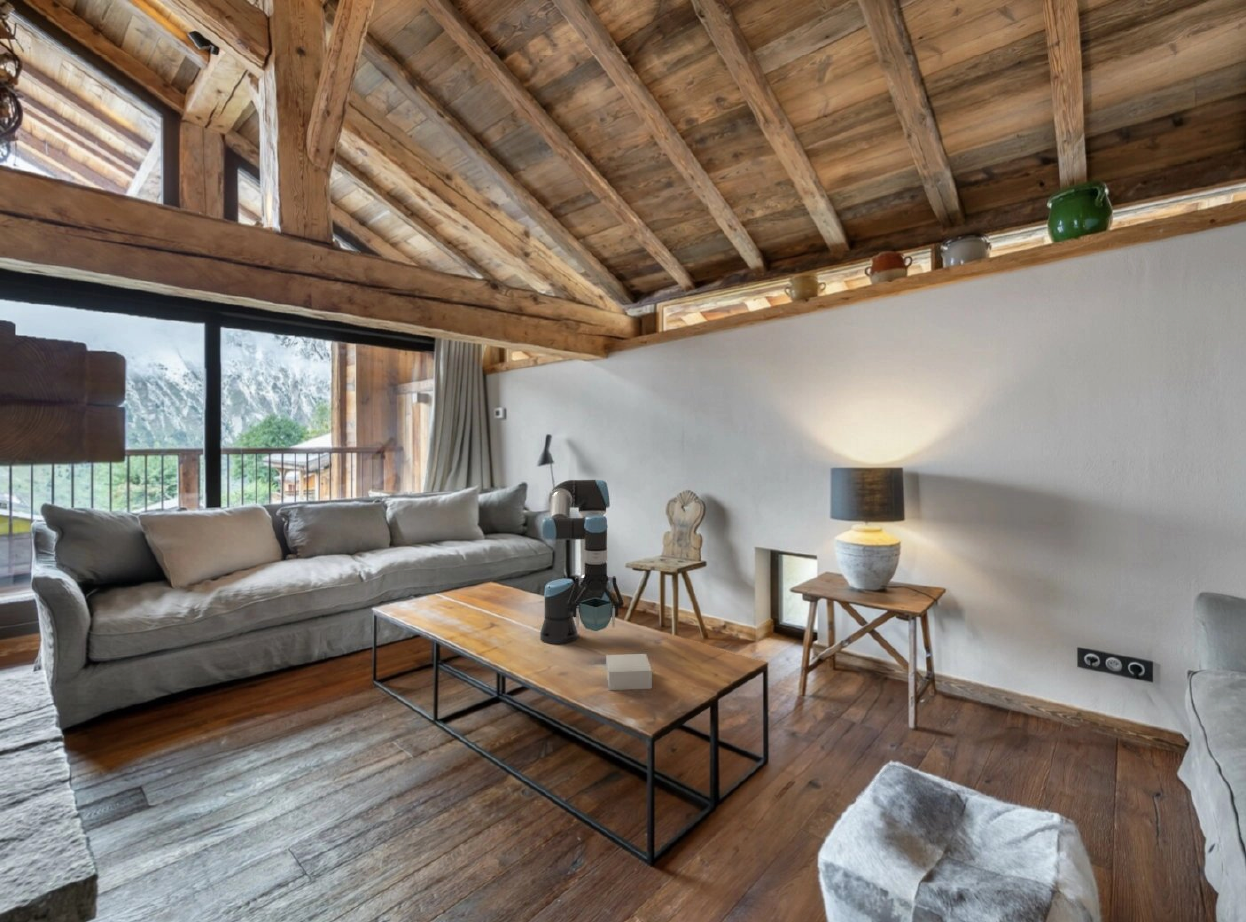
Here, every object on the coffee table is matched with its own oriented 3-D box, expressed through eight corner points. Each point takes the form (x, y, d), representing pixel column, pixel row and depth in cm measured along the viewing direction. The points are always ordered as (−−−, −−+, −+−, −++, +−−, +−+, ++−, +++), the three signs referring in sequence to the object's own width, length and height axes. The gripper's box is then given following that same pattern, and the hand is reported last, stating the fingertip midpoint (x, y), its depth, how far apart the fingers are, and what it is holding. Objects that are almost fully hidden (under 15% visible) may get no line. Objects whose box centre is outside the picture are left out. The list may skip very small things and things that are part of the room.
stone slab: (606, 672, 194) (606, 655, 194) (645, 670, 195) (645, 653, 195) (609, 690, 180) (609, 672, 180) (651, 688, 181) (651, 670, 181)
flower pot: (595, 622, 193) (595, 597, 193) (614, 628, 187) (614, 602, 187) (577, 628, 186) (577, 602, 186) (595, 635, 181) (596, 607, 180)
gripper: (559, 564, 181) (559, 630, 182) (631, 564, 183) (631, 629, 184) (560, 559, 189) (560, 623, 190) (630, 559, 190) (629, 622, 191)
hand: (595, 626), depth 187 cm, fingers closed on flower pot, 11 cm apart
